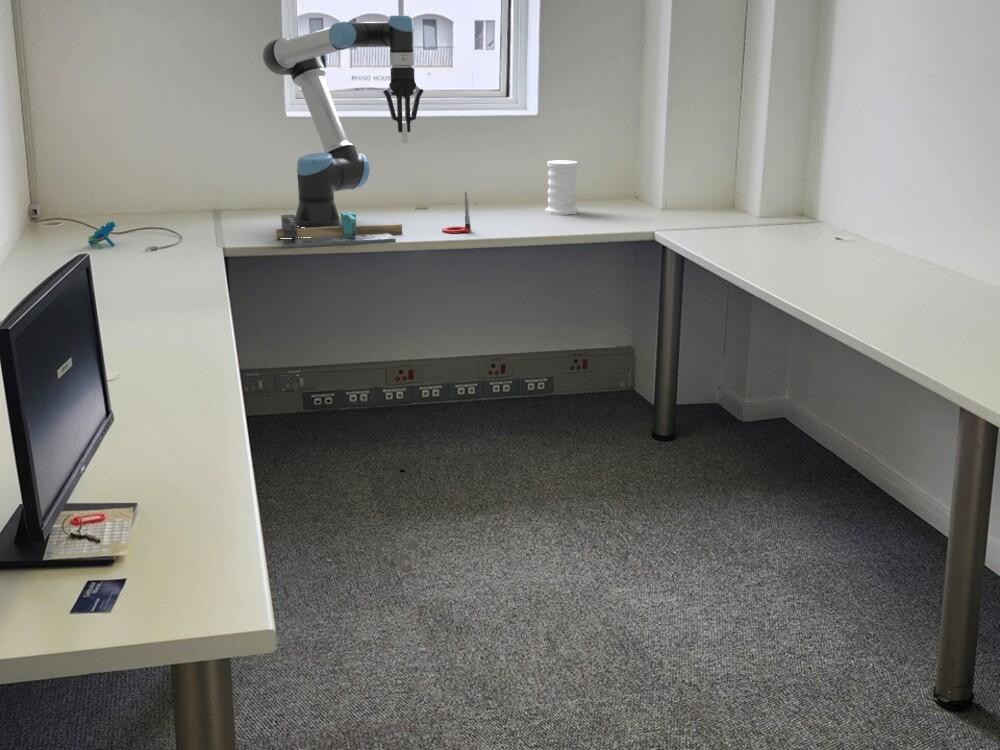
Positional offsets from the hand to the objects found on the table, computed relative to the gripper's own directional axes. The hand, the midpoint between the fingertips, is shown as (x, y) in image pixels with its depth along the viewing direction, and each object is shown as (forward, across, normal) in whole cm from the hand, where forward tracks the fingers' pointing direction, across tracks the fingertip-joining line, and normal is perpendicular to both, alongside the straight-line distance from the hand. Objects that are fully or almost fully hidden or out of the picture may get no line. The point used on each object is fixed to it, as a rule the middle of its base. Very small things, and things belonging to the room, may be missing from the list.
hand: (404, 142), depth 362 cm
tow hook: (+29, +15, -5) cm, 33 cm away
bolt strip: (+28, -24, -14) cm, 40 cm away
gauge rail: (+28, -22, -8) cm, 37 cm away
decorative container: (+29, +60, +22) cm, 70 cm away
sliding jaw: (+27, -20, -8) cm, 35 cm away
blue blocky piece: (+28, -95, -4) cm, 99 cm away
